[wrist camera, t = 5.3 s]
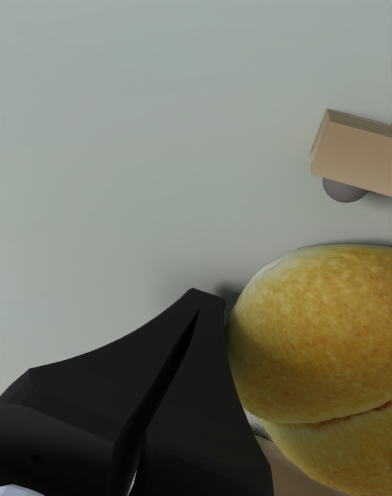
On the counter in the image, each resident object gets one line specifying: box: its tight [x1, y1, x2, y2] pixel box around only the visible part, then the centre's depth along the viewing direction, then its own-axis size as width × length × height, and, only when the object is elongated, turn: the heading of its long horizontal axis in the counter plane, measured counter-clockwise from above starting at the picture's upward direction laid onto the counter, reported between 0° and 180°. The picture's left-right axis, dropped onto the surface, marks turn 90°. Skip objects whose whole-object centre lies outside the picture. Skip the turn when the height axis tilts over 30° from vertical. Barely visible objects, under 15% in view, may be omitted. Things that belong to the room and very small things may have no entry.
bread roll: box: [224, 243, 392, 496], centre depth 12 cm, size 8×9×4 cm
